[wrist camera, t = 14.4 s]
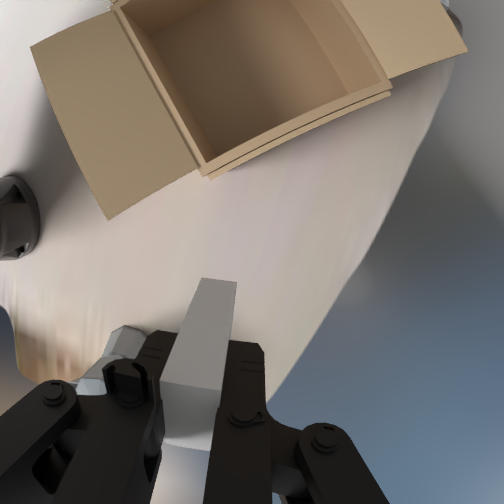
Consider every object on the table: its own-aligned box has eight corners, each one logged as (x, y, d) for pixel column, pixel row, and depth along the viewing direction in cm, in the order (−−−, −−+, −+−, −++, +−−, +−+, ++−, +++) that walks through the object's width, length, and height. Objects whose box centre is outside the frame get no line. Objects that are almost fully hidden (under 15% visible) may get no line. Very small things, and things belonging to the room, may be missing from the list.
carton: (407, 89, 36) (477, 65, 20) (166, 205, 43) (114, 238, 26) (325, -38, 30) (351, -101, 13) (95, 70, 36) (26, 43, 20)
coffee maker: (101, 354, 51) (58, 418, 34) (100, 315, 48) (48, 378, 31) (175, 377, 52) (150, 452, 35) (180, 339, 49) (151, 417, 32)
